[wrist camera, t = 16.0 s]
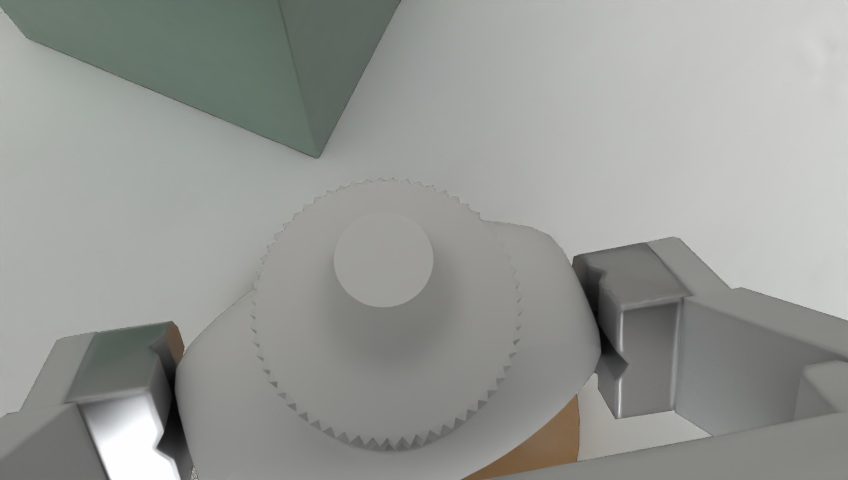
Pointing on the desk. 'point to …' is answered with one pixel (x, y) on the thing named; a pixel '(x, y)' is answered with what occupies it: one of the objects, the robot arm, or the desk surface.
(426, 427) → the eye dropper bottle
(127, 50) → the dispenser
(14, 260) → the desk surface
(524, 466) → the coaster
